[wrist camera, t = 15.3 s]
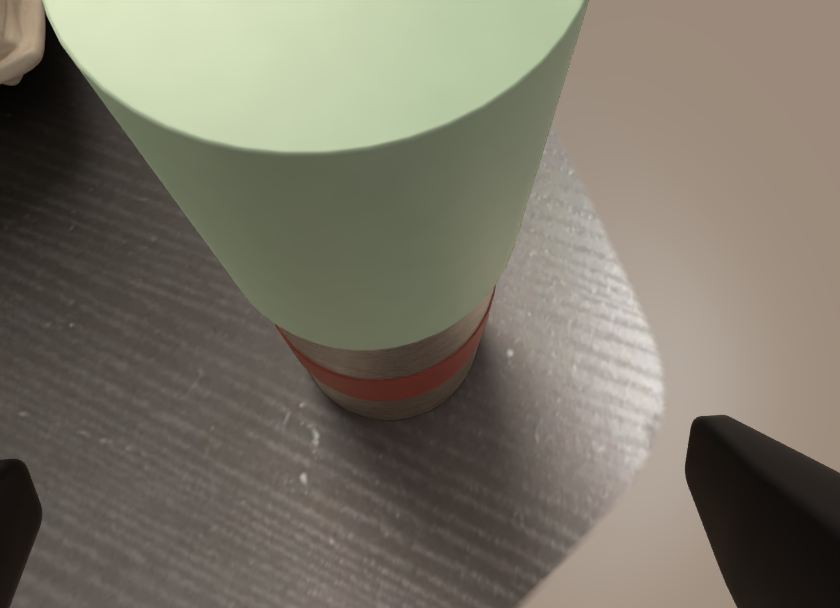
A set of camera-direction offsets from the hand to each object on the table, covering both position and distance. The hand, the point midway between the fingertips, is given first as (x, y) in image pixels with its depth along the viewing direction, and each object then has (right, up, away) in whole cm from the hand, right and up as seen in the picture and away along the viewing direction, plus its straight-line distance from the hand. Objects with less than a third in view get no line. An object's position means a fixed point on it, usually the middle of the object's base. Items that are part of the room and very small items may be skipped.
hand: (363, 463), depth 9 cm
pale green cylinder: (0, +4, +5) cm, 7 cm away
